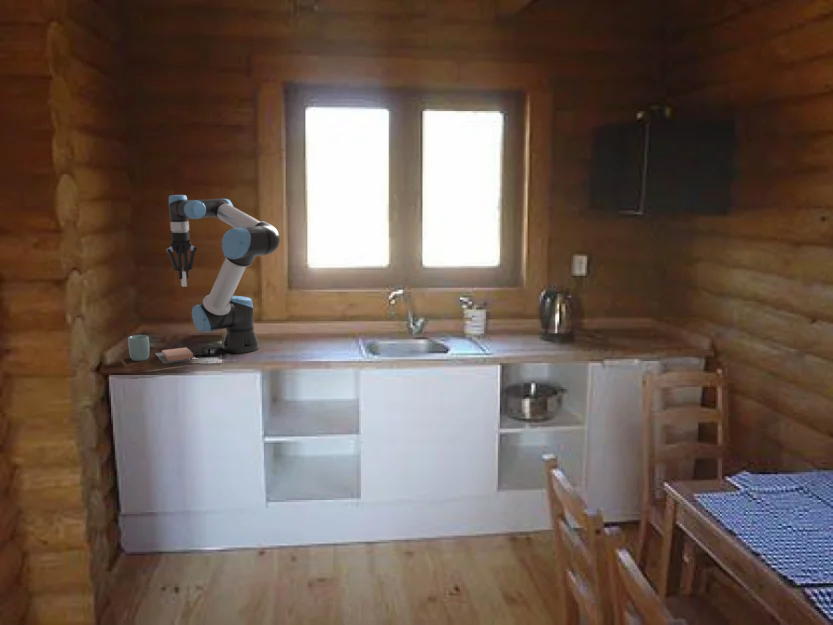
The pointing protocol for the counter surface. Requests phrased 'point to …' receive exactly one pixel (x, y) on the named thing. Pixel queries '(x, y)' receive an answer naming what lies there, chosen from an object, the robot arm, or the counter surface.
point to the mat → (166, 360)
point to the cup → (138, 347)
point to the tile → (177, 354)
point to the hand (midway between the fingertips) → (184, 286)
